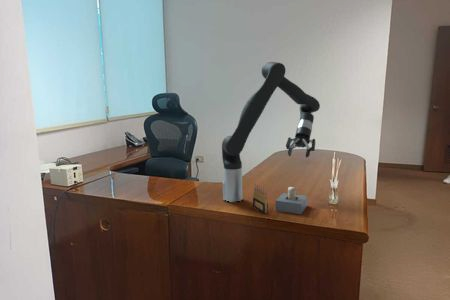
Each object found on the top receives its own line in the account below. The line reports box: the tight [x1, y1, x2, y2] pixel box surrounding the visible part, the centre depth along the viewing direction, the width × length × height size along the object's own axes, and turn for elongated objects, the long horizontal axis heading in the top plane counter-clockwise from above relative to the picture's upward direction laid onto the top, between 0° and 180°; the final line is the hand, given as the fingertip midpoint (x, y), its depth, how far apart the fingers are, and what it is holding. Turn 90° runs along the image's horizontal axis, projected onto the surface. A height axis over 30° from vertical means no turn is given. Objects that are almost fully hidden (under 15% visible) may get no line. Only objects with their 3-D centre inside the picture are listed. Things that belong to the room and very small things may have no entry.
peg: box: [287, 186, 297, 201], centre depth 163 cm, size 4×4×10 cm
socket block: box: [275, 192, 308, 215], centre depth 163 cm, size 12×12×5 cm
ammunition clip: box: [252, 183, 269, 215], centre depth 161 cm, size 11×2×12 cm, turn 26°
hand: (298, 156), depth 171 cm, fingers open, 8 cm apart
